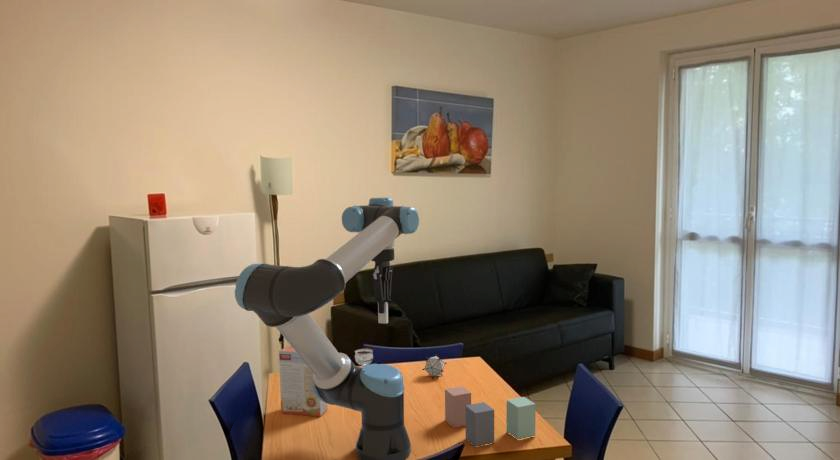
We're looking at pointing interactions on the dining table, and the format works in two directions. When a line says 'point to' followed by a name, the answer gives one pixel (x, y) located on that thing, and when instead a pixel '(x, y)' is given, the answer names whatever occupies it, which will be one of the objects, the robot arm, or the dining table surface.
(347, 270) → the robot arm
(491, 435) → the slate blue block
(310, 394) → the cracker box
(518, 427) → the sage block
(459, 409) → the pink block
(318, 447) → the dining table surface
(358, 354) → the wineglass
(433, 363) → the game die
